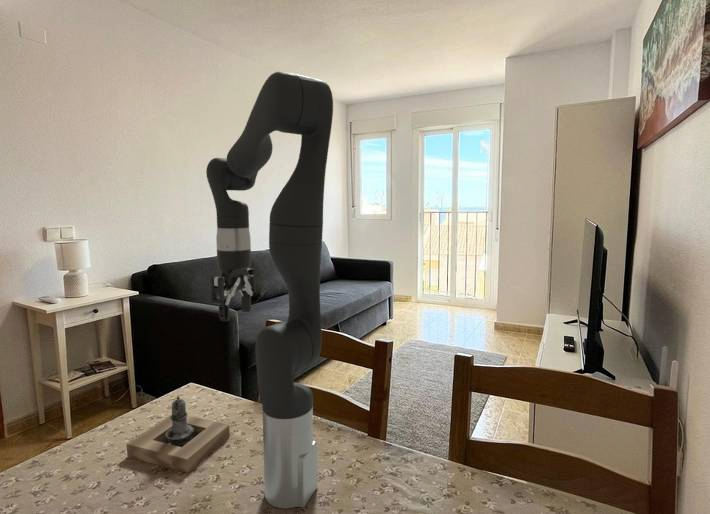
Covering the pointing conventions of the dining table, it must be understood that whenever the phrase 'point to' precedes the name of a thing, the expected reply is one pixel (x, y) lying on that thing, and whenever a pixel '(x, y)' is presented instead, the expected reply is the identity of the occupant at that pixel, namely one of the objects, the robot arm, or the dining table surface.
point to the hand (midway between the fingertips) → (236, 315)
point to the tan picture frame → (179, 458)
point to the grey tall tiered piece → (179, 425)
